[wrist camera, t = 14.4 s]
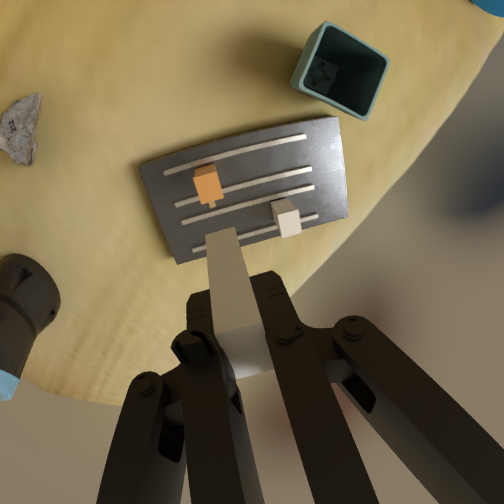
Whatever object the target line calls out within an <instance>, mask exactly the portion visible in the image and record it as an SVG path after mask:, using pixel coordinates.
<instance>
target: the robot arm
mask: <svg viewBox="0 0 504 504" xmlns="http://www.w3.org/2000/svg"><path fill="white" fill-rule="evenodd" d="M205 238H206V252H207V264H208V276H209V287H210V289H208V290H204V291H201V292H197V293H193V294H191V295H190V297H189V299H188V301H187V303H186V313H187V314H186V320H187V330H184V331H182V332H181V333H180V334H178V335H177V336H176V337H175V339H174V340H173V342H172V345H171V349H172V351H173V352H174V354H175V355H176V357H177V358H178V360H179V361H180V362H181V363H180V364H179V365H178V366H177V367H176V368H174V369H172V370H171V371H169V372H167V373H165V374H163V375H161V376H160V375H158V374H157V373H155V372H151V371H148V372H143V373H141V374H139V375H137V376H136V377H135V378H134V379H133V380H132V382H131V384H130V386H129V388H128V391H127V394H126V397H125V400H124V403H123V407H122V410H121V413H120V416H119V420H118V423H117V426H116V429H115V432H114V436H113V439H112V443H111V446H110V450H109V454H108V457H107V461H106V465H105V469H104V473H103V476H102V480H101V485H100V489H99V494H98V498H97V502H96V504H180V501H181V495H182V488H183V482H184V475H185V470H186V463H187V471H188V480H189V488H190V496H191V503H192V504H265V503H264V498H263V495H262V490H261V487H260V482H259V478H258V473H257V469H256V465H255V460H254V456H253V451H252V447H251V442H250V437H249V433H248V428H247V423H246V418H245V414H244V409H243V404H242V399H241V393H240V391H239V388H238V386H237V384H236V380H235V375H236V378H237V379H240V378H243V377H247V376H251V375H255V374H259V373H262V372H266V371H269V370H273V369H275V373H276V376H277V380H278V383H279V386H280V390H281V393H282V397H283V400H284V403H285V407H286V410H287V413H288V417H289V420H290V423H291V427H292V430H293V434H294V437H295V440H296V443H297V447H298V450H299V453H300V456H301V460H302V463H303V466H304V469H305V473H306V476H307V479H308V483H309V486H310V489H311V492H312V496H313V498H314V502H315V504H379V502H378V499H377V496H376V494H375V491H374V489H373V486H372V484H371V481H370V479H369V476H368V474H367V471H366V469H365V466H364V464H363V461H362V459H361V456H360V454H359V451H358V449H357V447H356V444H355V442H354V439H353V437H352V434H351V432H350V430H349V427H348V425H347V422H346V420H345V418H344V415H343V413H342V410H341V408H340V406H339V403H338V401H337V398H336V396H335V394H334V391H333V389H332V387H331V384H330V383H336V384H337V385H338V386H339V388H340V389H341V390H342V391H343V392H344V394H345V395H346V396H347V397H348V398H349V400H350V401H351V402H352V403H353V404H354V406H356V408H357V409H358V410H359V411H360V413H361V414H362V415H363V416H364V418H365V419H366V420H367V421H368V422H369V423H370V425H371V426H372V427H373V428H374V429H375V431H376V432H377V433H378V434H379V435H380V436H381V437H382V439H383V440H384V441H385V442H386V443H387V445H388V446H389V447H390V448H391V449H392V450H393V452H394V453H395V454H396V455H397V456H398V457H399V458H400V460H401V461H402V462H403V463H404V464H405V465H406V467H407V468H408V469H409V470H410V471H411V472H412V473H413V475H414V476H415V477H416V478H417V479H418V480H419V481H420V483H421V484H422V485H423V486H424V487H425V488H426V489H427V490H428V492H429V493H430V494H431V495H432V496H433V497H434V498H435V499H436V500H437V502H438V503H439V504H504V449H503V448H502V447H501V446H500V445H499V444H498V443H497V442H496V441H495V440H494V439H493V438H492V437H491V436H490V435H489V434H488V433H487V432H486V431H485V430H484V429H483V428H482V427H481V426H480V425H479V424H478V423H477V422H476V421H475V420H474V419H473V418H472V417H471V416H470V415H469V414H468V413H467V412H466V411H465V410H464V409H463V408H462V407H461V406H460V405H459V404H458V403H457V402H456V401H455V400H454V399H453V398H452V397H451V396H450V395H449V394H448V393H447V392H445V390H444V389H442V388H441V387H440V386H439V385H438V384H437V383H436V382H435V381H434V380H433V379H432V378H431V377H430V376H429V375H428V374H427V373H426V372H424V370H422V369H421V368H420V367H419V366H418V365H417V364H416V363H415V362H414V361H413V360H412V359H411V358H410V357H409V356H407V355H406V354H405V353H404V352H403V351H402V350H401V349H400V348H399V347H398V346H397V345H396V344H394V343H393V342H392V341H391V340H390V339H389V338H388V337H387V336H386V335H384V334H383V333H382V332H381V331H380V330H379V329H378V328H377V327H376V326H375V325H374V324H372V323H371V322H370V321H369V320H367V319H365V318H364V317H361V316H356V315H354V316H347V317H344V318H342V319H340V320H339V321H338V322H337V323H336V324H335V326H334V328H322V329H321V328H312V327H309V326H307V325H305V324H304V323H302V322H301V321H300V319H299V318H298V315H297V313H296V311H295V309H294V306H293V304H292V302H291V300H290V297H289V295H288V293H287V290H286V288H285V286H284V284H283V281H282V279H281V277H280V276H279V275H278V274H277V273H275V272H274V271H272V270H271V271H268V272H264V273H261V274H258V275H254V276H251V277H249V275H248V272H247V269H246V265H245V262H244V258H243V255H242V251H241V248H240V244H239V241H238V237H237V234H236V230H235V227H231V228H228V229H224V230H221V231H217V232H214V233H210V234H207V235H205ZM59 309H60V295H59V291H58V289H57V286H56V284H55V282H54V281H53V279H52V278H51V276H50V275H49V274H48V272H47V271H46V270H45V269H44V268H43V267H42V266H41V265H39V264H38V263H37V262H36V261H34V260H32V259H31V258H29V257H27V256H24V255H20V254H12V255H9V256H7V257H5V258H4V259H3V261H2V262H1V263H0V400H2V401H6V400H9V399H11V398H12V396H13V394H14V392H15V390H16V387H17V385H18V384H19V382H20V377H21V374H22V371H23V368H24V366H25V363H26V361H27V358H28V356H29V353H30V351H31V348H32V346H33V343H34V341H35V339H36V337H37V335H38V334H39V333H41V332H42V331H43V330H44V329H45V328H46V327H47V326H48V325H49V324H50V323H51V322H53V320H54V319H55V317H56V315H57V313H58V311H59Z"/></svg>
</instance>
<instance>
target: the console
mask: <svg viewBox="0 0 504 504" xmlns="http://www.w3.org/2000/svg"><path fill="white" fill-rule="evenodd" d="M210 164H215V168H216V171H217V175H218V178H219V182H220V185H221V189H222V192H223V196H224V198H222V199H219V200H215V201H212V202H208V203H205V204H202V205H201V202H200V199H199V195H198V192H197V189H196V186H195V183H194V180H193V177H194V175H195V169H197V168H200V167H203V166H207V165H210ZM138 169H139V171H140V174H141V177H142V180H143V182H144V185H145V188H146V190H147V193H148V196H149V198H150V201H151V203H152V206H153V208H154V211H155V213H156V216H157V218H158V221H159V223H160V226H161V228H162V231H163V233H164V235H165V238H166V240H167V243H168V245H169V247H170V250H171V252H172V254H173V256H174V259H175V261H176V263H177V265H178V264H182V263H185V262H189V261H192V260H196V259H199V258H203V257H206V256H207V252H206V238H205V235H207V234H210V233H214V232H217V231H221V230H224V229H228V228H231V227H235V230H236V234H237V237H238V241H239V244H240V247H242V246H245V245H249V244H252V243H256V242H259V241H263V240H267V239H270V238H274V237H277V236H281V234H280V231H279V229H278V228H277V226H276V224H275V222H274V217H273V213H272V208H271V203H270V202H273V201H277V200H281V199H285V198H288V199H289V200H290V201H291V203H292V204H293V205H294V206H295V208H298V210H299V216H300V223H301V229H302V230H303V229H306V228H310V227H314V226H317V225H321V224H325V223H328V222H332V221H336V220H339V219H343V218H347V217H348V204H347V190H346V179H345V169H344V160H343V151H342V143H341V136H340V128H339V122H338V117H337V116H332V115H330V116H323V117H317V118H310V119H305V120H299V121H293V122H288V123H283V124H278V125H273V126H269V127H264V128H260V129H255V130H251V131H247V132H243V133H239V134H235V135H231V136H227V137H223V138H219V139H216V140H212V141H209V142H205V143H202V144H199V145H195V146H192V147H189V148H186V149H182V150H179V151H176V152H173V153H170V154H167V155H164V156H161V157H158V158H156V159H153V160H150V161H147V162H145V163H142V164H141V165H140V166H139V167H138Z"/></svg>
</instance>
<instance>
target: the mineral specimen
mask: <svg viewBox="0 0 504 504" xmlns="http://www.w3.org/2000/svg"><path fill="white" fill-rule="evenodd" d="M41 105H42V95H41V94H40V93H38V94H36V95H35V94H34V93H32V94H31V95H29V96H26V97H25V98H23V99H22V100H21V101H18V100H17V101H15V102H14V103H12V105H11V106H10V109H9V110H8V111H6V112H5V113H4V114H3V115H2V121H1V123H0V150H4V151H5V152H6V153H7V154H8V155H9V156H10V158H11V159H13V162H15V163H16V164H24V165H25V166H31V165H33V163H34V159H35V154H36V149H37V147H38V144H37V143H36V142H35V140H34V135H35V134H36V129H37V122H38V119H39V115H40V111H41Z"/></svg>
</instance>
